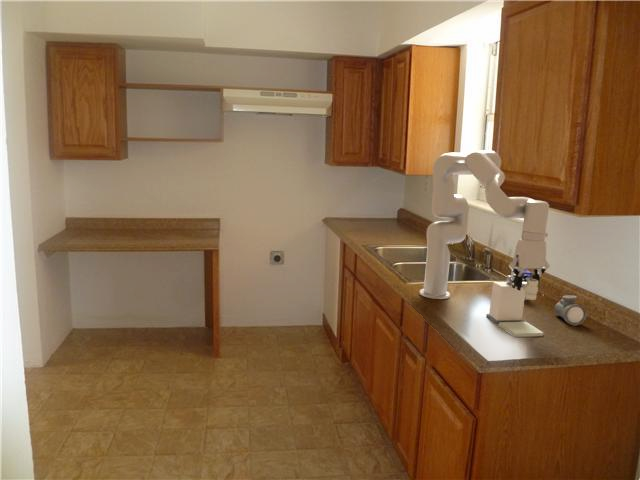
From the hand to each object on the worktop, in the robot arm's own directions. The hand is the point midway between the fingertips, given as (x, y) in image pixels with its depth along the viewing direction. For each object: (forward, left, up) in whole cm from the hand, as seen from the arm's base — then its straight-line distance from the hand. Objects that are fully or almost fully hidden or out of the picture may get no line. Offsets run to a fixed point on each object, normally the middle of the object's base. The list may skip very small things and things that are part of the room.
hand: (526, 286), depth 196 cm
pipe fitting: (-9, +26, -17) cm, 32 cm away
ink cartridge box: (-38, +23, -17) cm, 47 cm away
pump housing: (-10, 0, -17) cm, 20 cm away
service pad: (0, 0, -17) cm, 17 cm away
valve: (0, 0, -3) cm, 3 cm away
